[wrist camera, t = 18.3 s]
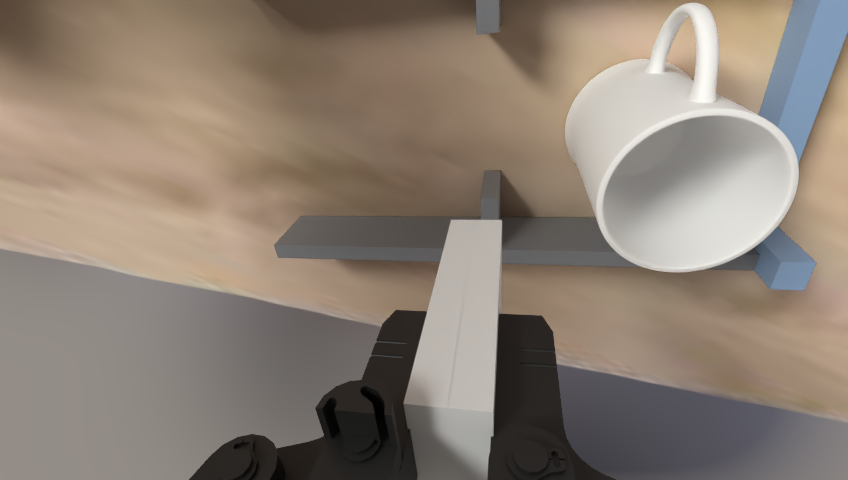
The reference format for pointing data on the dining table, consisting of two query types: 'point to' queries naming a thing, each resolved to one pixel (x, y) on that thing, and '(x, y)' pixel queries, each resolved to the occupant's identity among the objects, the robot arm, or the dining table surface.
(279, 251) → the grey rectangular frame
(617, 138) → the mug
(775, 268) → the blue bezel
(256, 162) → the dining table surface
